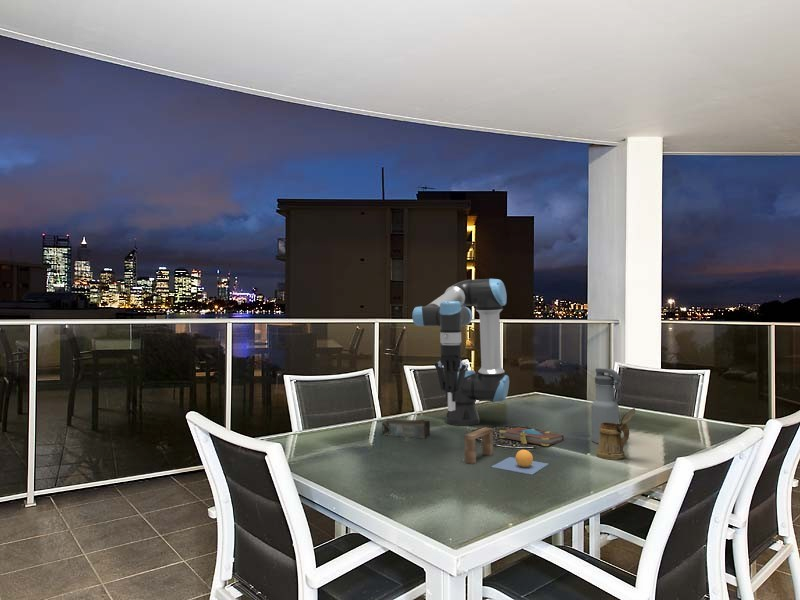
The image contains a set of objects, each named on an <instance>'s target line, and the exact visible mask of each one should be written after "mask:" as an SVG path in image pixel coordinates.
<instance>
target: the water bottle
mask: <svg viewBox="0 0 800 600" xmlns="http://www.w3.org/2000/svg"><path fill="white" fill-rule="evenodd" d="M595 373H596V374H595V375H596V376H595V377H594V385H595V400H593V401H592V402H591V408H590V409H591V441H592V442H594V443H595V444H599V436H600V432H599V429H600V427H601V423H605V422H609V423H616V424H617V423H620V419H619V417H620V413H619V412H620V409H619V408H620V407H619V404H618V402H619V401H620V400H621V387H619V383H620V382H621V377H620V375H619V373H618V372H617V371H616V370H614V369H613V368H601V367H600V368H597V367H596V368H595ZM606 374H609V375H606ZM616 391H617V394H618V396H617V399H616Z"/></svg>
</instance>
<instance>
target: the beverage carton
mask: <svg viewBox="0 0 800 600" xmlns="http://www.w3.org/2000/svg"><path fill="white" fill-rule="evenodd" d="M382 435H388V436H387V437H393V436H400V437H399V438H408V437H412V439H426V438H427V437H429V436H430V435H431V421H430V420H424V419H415V420H411V419H393V418H387V419H384V420H383V421H382V422H381V436H382Z"/></svg>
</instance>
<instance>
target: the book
mask: <svg viewBox="0 0 800 600" xmlns="http://www.w3.org/2000/svg"><path fill="white" fill-rule="evenodd" d="M498 432H499V433H501V434H502V435H500V436H499V438H501V439H507V440H513V441H519V442H521V444H522V443H523V445H525V444H526V445H527V444H528V443H530V444H535V445H538V446H543V447H549V446H550V445H554V444H557V443H561V442H563V441H564V440H565V438H564V434H560V433H555V432H551V431H549V430H547V431H544V430H543V431H542V430H537V429H535V428H525V427H514V428H508V429H500V430H499V431H498Z"/></svg>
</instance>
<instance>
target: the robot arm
mask: <svg viewBox="0 0 800 600" xmlns="http://www.w3.org/2000/svg"><path fill="white" fill-rule="evenodd" d="M507 299H508V298H507V290H506V286H505V284H504V282H503V281H502V280H501V279H498V278H485V279H483V278H482V279H478V278H476V279H465V280H462V281H459V282H457V283H455V284H453V285H451V286H449V287H447V288H446V290H444V293H443V294H442V295H440V296H439V297H437V298H436V299H434V300H433V301H431V302H430V303H429V304H427V305H425V306H422V305H420V306H415V307H414V309H413V311H412V315H411V316H412V318H411V319H412V322H413V324H414V325H415V326H416V327H418V326H419V327H439V328H440V329H439V330H440V331H439V334H440V335H439V336H440V341H439V342H440V348H439V349H440V351H439V352H440V359H439V361H437V362H435V363H434V367H435V369H436V374H437V376H438V381H439V385H440V386H439V387H440V390H441V391H444V392H445V400H446V402H447V412H446V415H445V423H446V424H448V425H452V426H463V427H464V426H475V425H479V424H480V416H479V413H478V409H477V406H476V401H482V402H493V403H495V402H498V403H499V402H501V403H502V402H504V401H505V400H506V398H507V396H508V393H509V389H510V388H509V387H510V377H509V375H507V374H505V373H506V372H505V370H504V368H503V367H502V357H501V354H502V353H501V331H500V329H501V328H500V327H501V325H500V313H501V312H502V311H503V310H504V308H503V306H506V304H507ZM467 306H468V307H467ZM469 306H470V307H471V306H473V307H475V311H476V312H478V314H479V333H480V334H479V335H480V337H479V339H480V362H481V363H480V365H481V366H480V368H479V370H477V371H478V372H477V373H476V371H475V370H468V368H469V365H468V364H466V363H464V362H463V359H462V345H461V344H462V327H466V326H468V325H469V324H470V323H471V322H472V320H473V312H472V310H471V309H470V308H469Z"/></svg>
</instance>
